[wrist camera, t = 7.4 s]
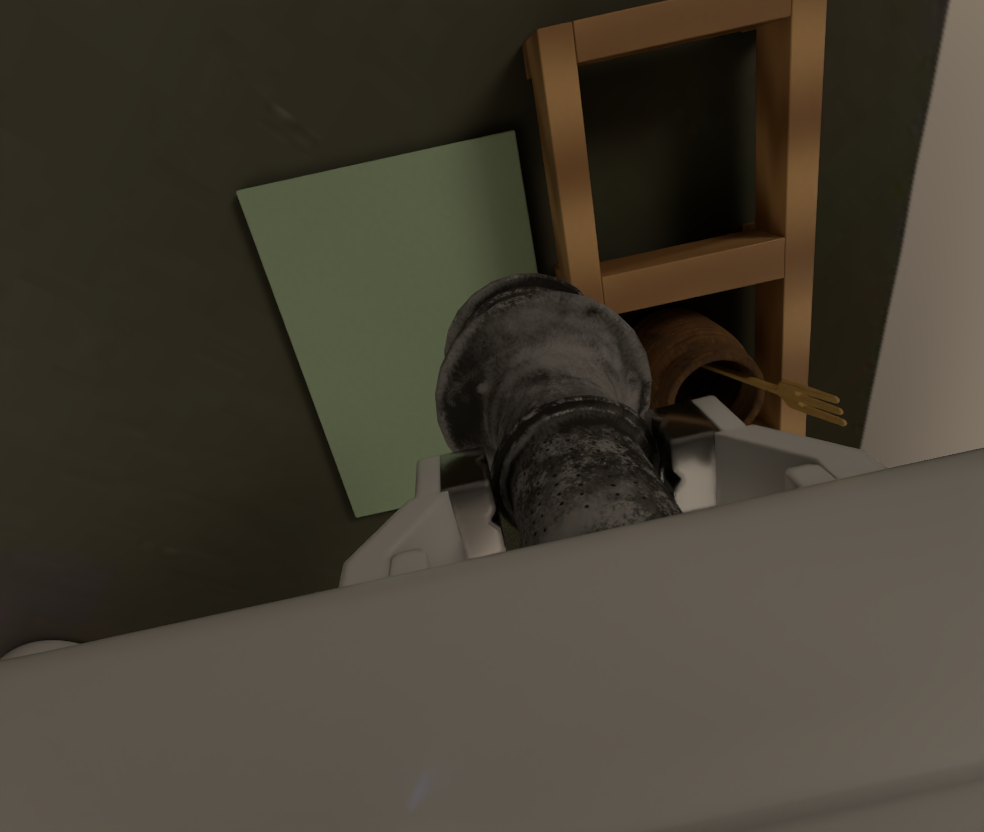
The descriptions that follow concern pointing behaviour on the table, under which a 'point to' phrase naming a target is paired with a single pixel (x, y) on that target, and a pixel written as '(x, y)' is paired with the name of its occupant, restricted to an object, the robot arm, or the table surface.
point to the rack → (779, 173)
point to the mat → (387, 291)
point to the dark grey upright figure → (553, 408)
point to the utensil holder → (715, 368)
